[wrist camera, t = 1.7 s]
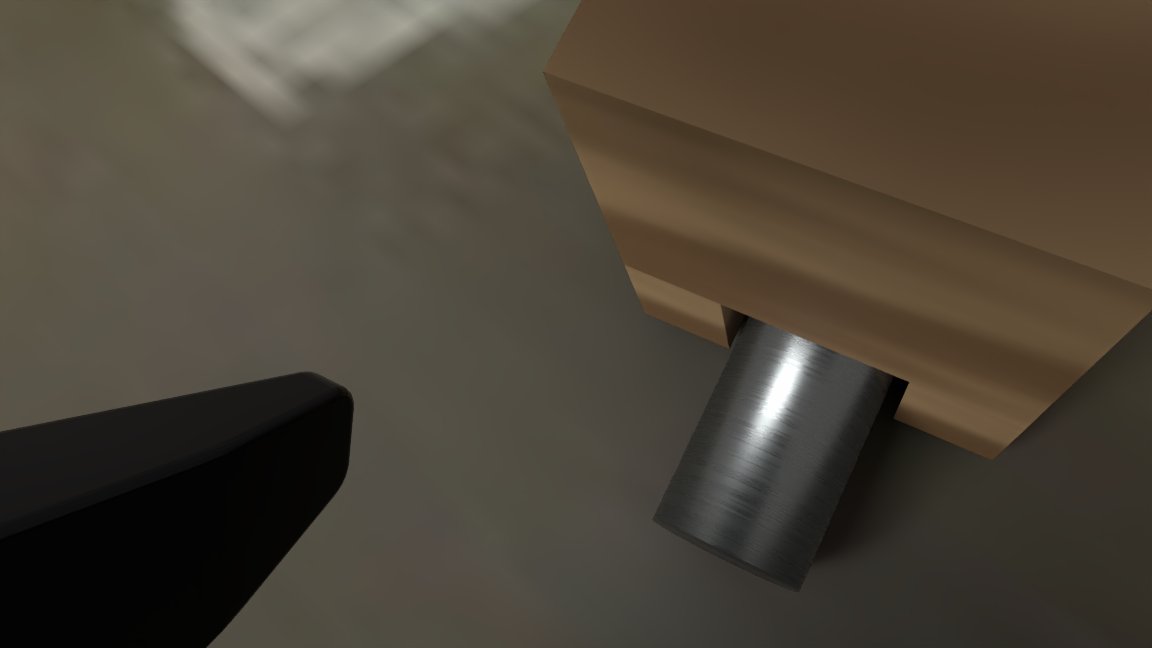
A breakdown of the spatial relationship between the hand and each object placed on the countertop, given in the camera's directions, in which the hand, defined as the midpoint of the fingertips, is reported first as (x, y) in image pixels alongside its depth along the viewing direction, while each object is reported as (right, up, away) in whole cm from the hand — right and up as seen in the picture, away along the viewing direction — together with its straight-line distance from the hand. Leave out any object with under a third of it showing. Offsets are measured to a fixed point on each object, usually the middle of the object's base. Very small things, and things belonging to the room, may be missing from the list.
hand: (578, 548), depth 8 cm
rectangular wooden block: (+6, +2, +14) cm, 15 cm away
